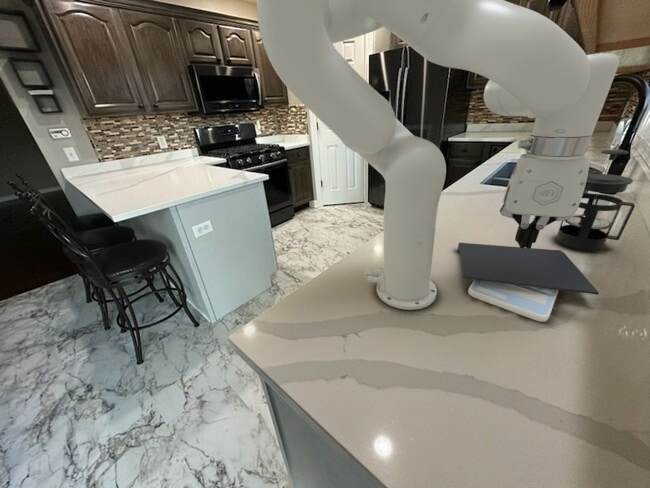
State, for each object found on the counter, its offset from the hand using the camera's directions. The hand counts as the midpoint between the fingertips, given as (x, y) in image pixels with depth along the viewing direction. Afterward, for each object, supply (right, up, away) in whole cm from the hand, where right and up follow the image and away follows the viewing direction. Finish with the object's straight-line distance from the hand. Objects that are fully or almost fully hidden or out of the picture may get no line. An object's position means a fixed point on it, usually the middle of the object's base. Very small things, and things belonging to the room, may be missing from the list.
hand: (523, 244), depth 51 cm
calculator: (+2, -9, +5) cm, 10 cm away
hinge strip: (+6, -3, +14) cm, 15 cm away
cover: (+3, -5, +6) cm, 8 cm away
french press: (+27, 0, +16) cm, 31 cm away
